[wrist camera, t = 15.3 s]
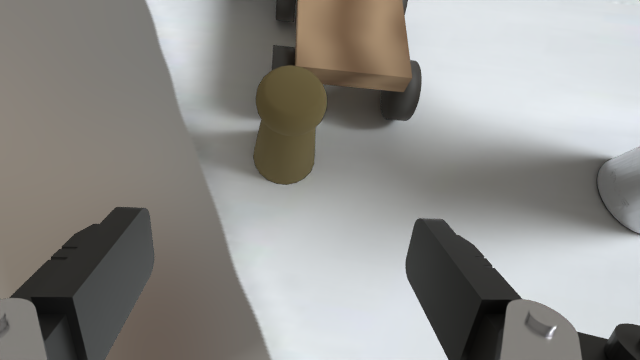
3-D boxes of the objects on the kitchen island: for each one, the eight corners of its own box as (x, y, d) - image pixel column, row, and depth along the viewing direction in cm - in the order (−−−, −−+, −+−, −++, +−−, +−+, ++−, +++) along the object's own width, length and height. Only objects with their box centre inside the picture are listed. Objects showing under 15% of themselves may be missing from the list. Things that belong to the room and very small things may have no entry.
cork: (294, 195, 32) (309, 140, 22) (240, 163, 32) (230, 93, 22) (325, 148, 34) (351, 79, 24) (275, 119, 35) (280, 38, 25)
